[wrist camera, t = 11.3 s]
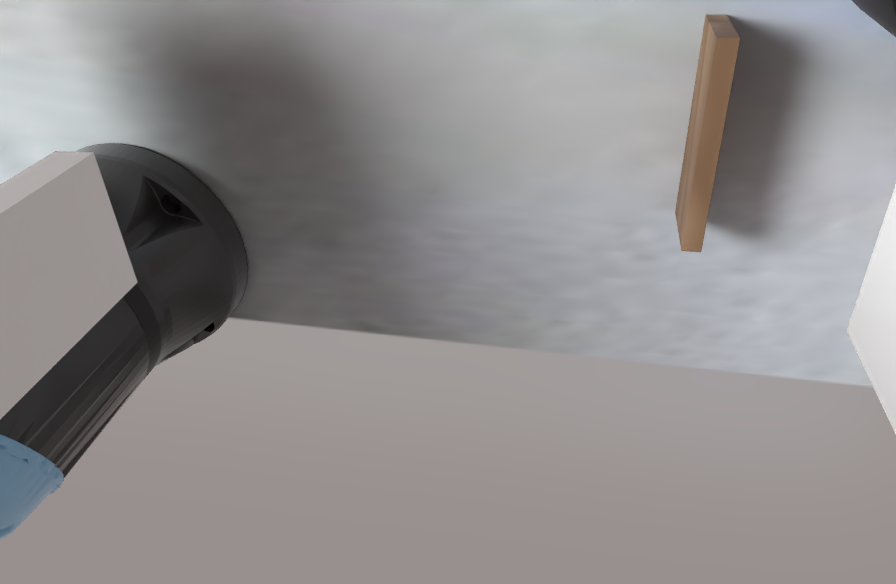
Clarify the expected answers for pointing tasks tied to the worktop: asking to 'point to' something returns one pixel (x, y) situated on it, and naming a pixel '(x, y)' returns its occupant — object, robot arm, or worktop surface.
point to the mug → (880, 12)
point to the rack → (705, 128)
